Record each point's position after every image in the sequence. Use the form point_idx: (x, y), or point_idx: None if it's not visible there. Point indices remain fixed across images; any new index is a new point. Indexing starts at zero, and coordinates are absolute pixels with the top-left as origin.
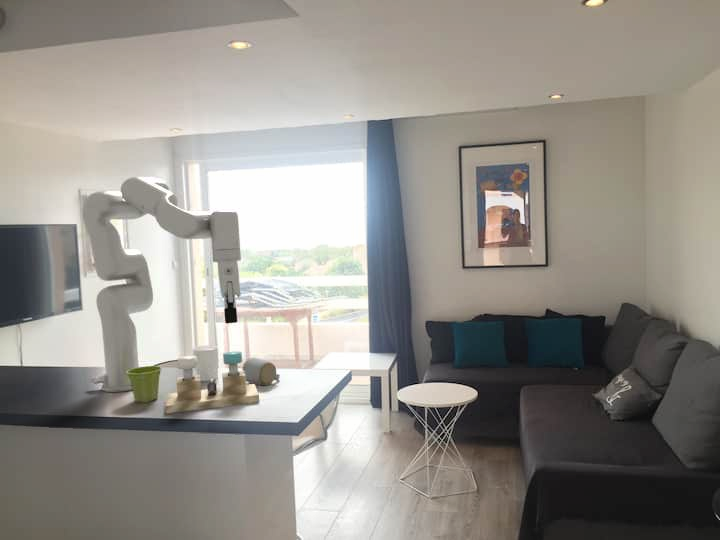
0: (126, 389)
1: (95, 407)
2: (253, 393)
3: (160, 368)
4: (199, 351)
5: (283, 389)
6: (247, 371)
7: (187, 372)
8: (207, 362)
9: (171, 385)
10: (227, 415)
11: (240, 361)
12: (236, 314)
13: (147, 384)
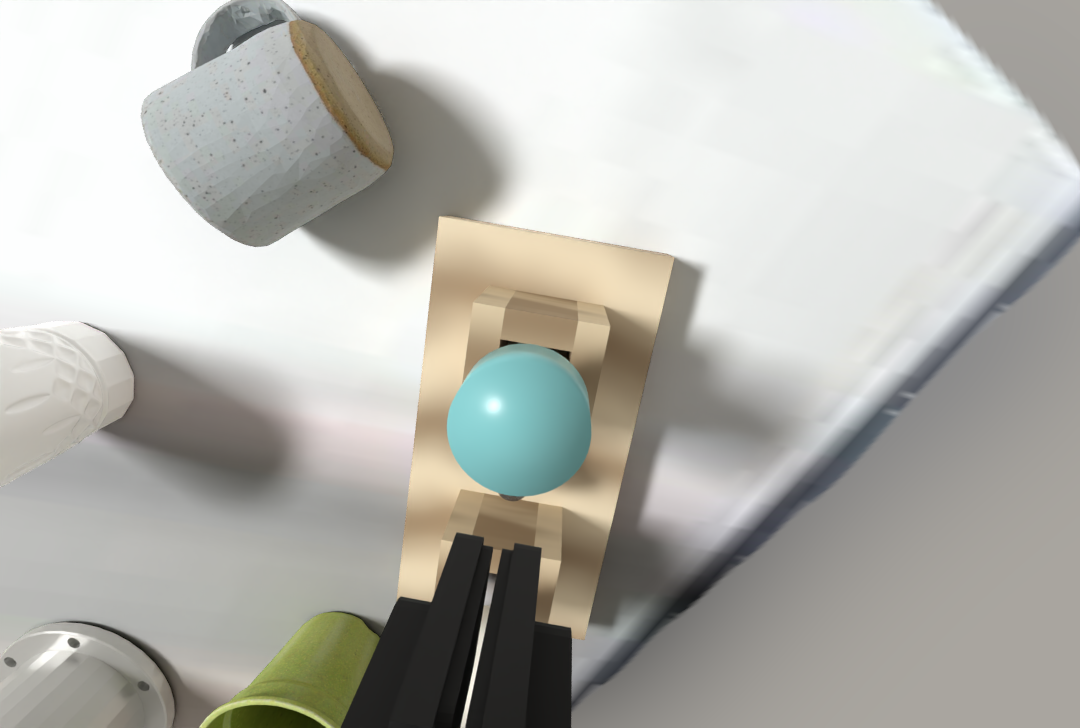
0: (168, 695)
1: None
2: (630, 275)
3: (271, 703)
4: None
5: (510, 57)
6: (293, 223)
7: None
8: (53, 416)
9: (149, 535)
10: (770, 429)
11: (573, 367)
12: (532, 633)
13: None
